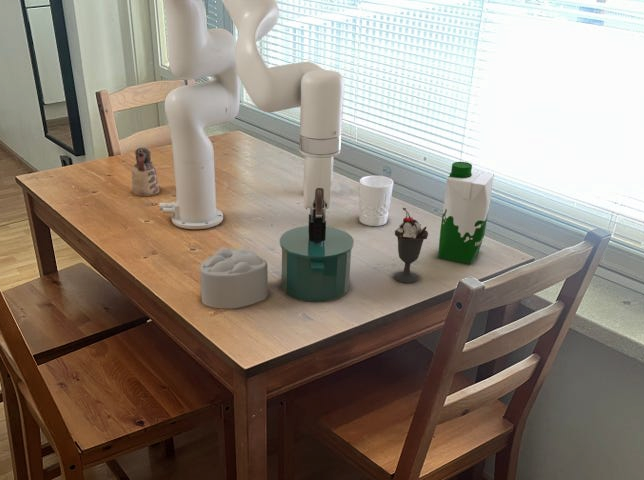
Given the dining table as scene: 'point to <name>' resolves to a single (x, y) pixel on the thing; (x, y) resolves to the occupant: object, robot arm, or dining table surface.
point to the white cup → (374, 199)
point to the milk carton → (464, 213)
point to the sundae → (409, 246)
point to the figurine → (144, 174)
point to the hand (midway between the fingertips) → (316, 236)
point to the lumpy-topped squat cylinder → (233, 279)
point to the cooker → (315, 277)
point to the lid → (316, 243)
